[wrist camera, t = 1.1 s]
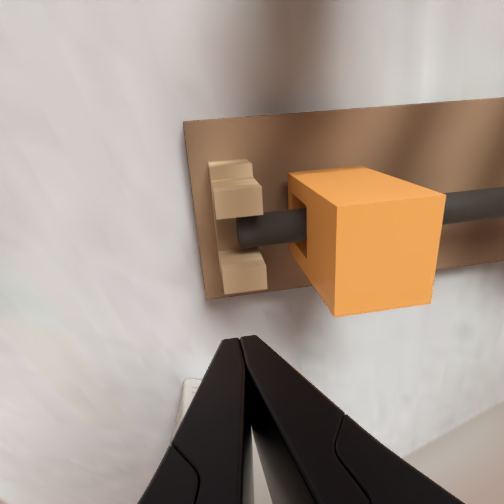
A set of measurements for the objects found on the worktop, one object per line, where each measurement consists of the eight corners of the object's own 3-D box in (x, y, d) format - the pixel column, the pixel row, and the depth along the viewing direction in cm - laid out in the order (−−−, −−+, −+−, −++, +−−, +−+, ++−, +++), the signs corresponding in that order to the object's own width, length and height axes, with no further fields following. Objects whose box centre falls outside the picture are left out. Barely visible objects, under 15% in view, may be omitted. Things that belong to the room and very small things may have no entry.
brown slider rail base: (588, 90, 21) (725, 85, 16) (547, 246, 25) (645, 284, 20) (183, 121, 19) (179, 126, 13) (205, 290, 22) (209, 349, 17)
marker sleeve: (361, 165, 19) (446, 194, 13) (357, 243, 21) (430, 303, 14) (287, 172, 19) (337, 206, 12) (289, 251, 20) (334, 317, 14)
